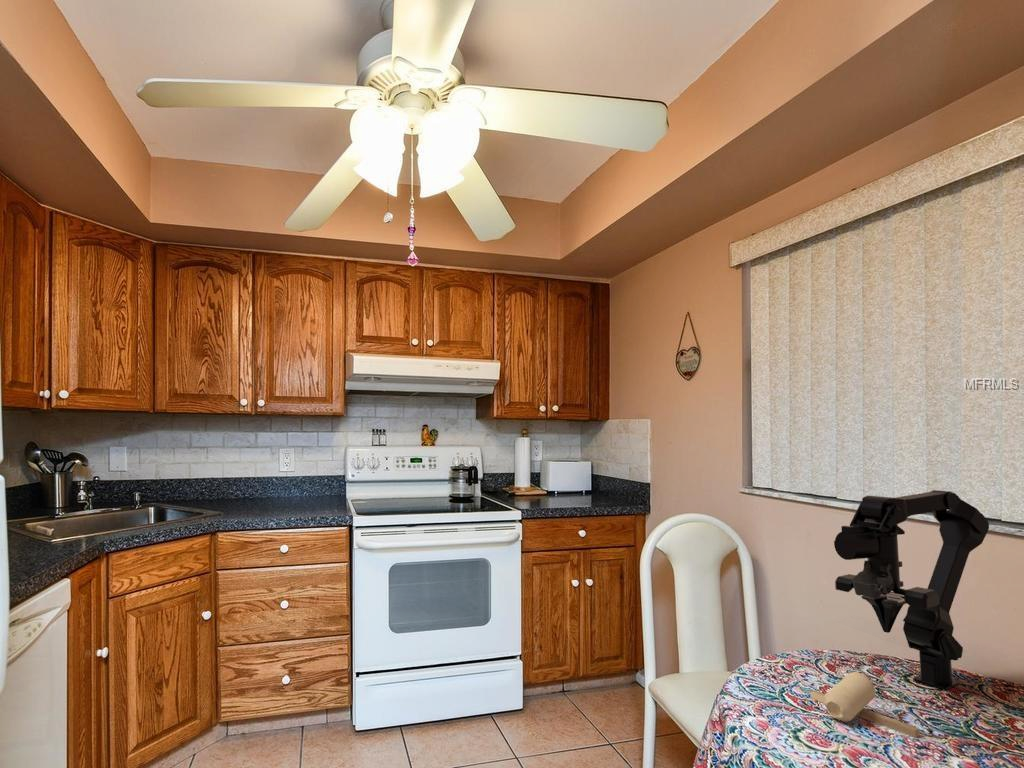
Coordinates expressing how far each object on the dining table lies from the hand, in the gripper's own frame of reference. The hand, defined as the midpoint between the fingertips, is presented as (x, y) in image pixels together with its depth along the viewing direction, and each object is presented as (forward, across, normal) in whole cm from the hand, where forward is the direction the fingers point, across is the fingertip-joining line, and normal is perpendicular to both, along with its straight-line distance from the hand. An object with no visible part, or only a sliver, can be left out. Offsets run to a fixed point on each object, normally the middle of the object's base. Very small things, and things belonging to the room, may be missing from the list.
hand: (886, 632), depth 132 cm
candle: (+7, +2, -14) cm, 16 cm away
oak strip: (+12, +3, -16) cm, 20 cm away
